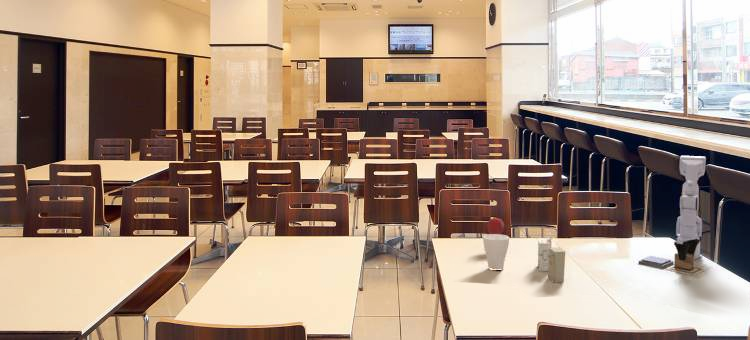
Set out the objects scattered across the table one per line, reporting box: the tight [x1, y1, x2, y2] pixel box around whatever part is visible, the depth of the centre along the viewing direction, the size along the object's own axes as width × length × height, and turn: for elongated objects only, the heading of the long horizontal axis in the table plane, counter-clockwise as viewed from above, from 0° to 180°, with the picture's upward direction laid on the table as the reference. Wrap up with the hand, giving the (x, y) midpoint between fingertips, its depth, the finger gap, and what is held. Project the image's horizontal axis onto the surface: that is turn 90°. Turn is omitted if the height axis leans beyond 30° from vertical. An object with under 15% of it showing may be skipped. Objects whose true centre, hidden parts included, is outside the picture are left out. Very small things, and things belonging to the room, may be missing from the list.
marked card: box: [665, 264, 706, 276], centre depth 249 cm, size 11×11×1 cm
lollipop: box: [486, 217, 505, 235], centre depth 281 cm, size 8×8×15 cm
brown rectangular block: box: [673, 252, 695, 271], centre depth 249 cm, size 4×6×6 cm, turn 41°
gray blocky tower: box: [537, 231, 552, 272], centre depth 251 cm, size 9×5×15 cm, turn 168°
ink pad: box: [638, 255, 675, 269], centre depth 257 cm, size 10×10×2 cm
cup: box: [482, 233, 510, 270], centre depth 251 cm, size 10×10×14 cm
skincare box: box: [547, 247, 566, 283], centre depth 236 cm, size 6×4×12 cm
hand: (686, 258), depth 248 cm, fingers open, 7 cm apart
